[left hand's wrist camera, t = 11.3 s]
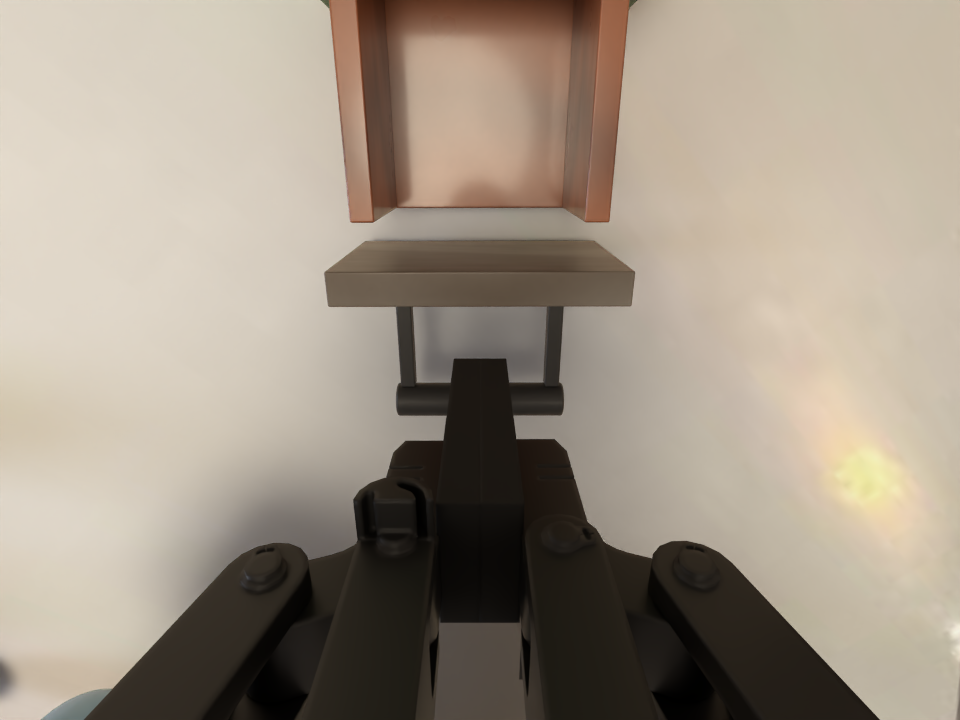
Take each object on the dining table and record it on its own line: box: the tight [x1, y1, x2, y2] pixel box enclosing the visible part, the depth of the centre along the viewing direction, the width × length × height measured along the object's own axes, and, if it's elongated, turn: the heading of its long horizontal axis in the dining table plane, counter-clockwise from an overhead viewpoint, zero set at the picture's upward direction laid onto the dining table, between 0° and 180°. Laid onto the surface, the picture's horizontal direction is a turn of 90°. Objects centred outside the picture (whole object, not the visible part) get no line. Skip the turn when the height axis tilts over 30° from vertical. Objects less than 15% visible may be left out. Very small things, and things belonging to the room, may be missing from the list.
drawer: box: [324, 0, 635, 416], centre depth 18 cm, size 25×10×6 cm, turn 0°
